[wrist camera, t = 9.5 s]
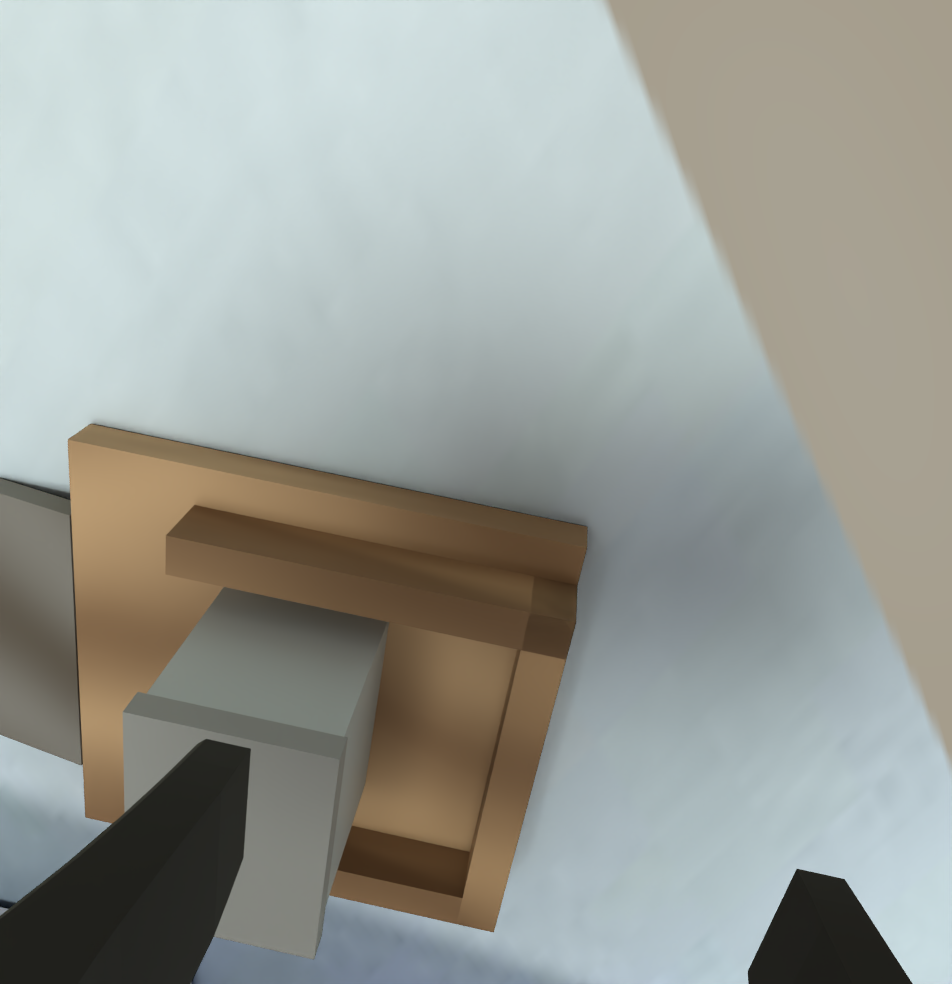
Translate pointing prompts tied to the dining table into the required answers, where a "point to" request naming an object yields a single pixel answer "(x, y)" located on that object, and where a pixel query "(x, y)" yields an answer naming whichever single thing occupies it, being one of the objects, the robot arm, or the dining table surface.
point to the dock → (312, 581)
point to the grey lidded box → (271, 747)
